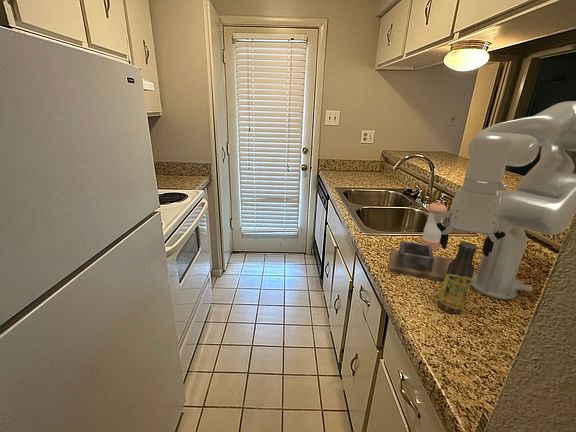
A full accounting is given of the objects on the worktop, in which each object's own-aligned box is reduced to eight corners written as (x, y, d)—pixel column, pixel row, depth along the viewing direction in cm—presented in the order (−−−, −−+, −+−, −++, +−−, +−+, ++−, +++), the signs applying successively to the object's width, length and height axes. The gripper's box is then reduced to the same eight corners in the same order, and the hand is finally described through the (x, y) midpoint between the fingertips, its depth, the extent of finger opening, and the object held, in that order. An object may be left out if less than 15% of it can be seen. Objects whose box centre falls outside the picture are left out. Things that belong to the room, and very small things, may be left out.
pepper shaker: (429, 251, 116) (438, 205, 110) (416, 243, 123) (424, 200, 116) (443, 249, 118) (453, 204, 112) (429, 241, 125) (438, 199, 118)
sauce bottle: (438, 311, 81) (453, 246, 74) (436, 298, 86) (450, 237, 80) (465, 317, 79) (483, 251, 72) (461, 303, 84) (478, 241, 78)
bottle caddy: (452, 262, 108) (456, 246, 105) (460, 285, 93) (465, 267, 91) (390, 252, 115) (393, 237, 112) (389, 271, 100) (391, 255, 98)
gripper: (517, 187, 71) (497, 250, 77) (439, 180, 77) (426, 239, 82) (529, 195, 64) (506, 263, 70) (443, 186, 70) (429, 250, 76)
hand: (463, 250), depth 76 cm, fingers open, 9 cm apart
